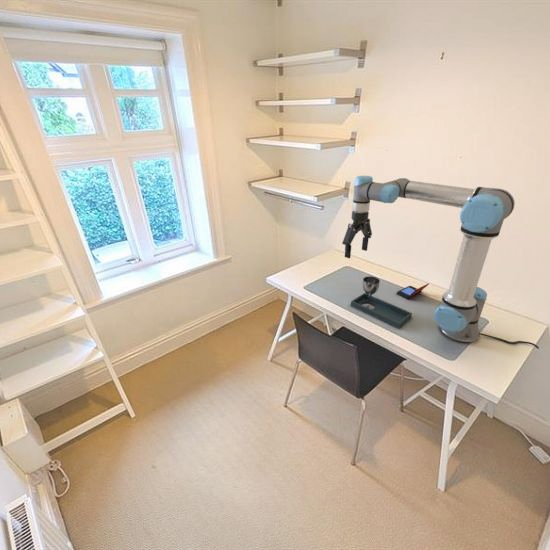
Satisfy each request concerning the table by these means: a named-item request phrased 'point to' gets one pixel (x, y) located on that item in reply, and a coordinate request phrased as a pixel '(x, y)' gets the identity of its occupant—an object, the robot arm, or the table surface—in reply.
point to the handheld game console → (410, 291)
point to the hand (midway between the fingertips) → (356, 253)
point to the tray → (382, 311)
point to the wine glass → (370, 289)
